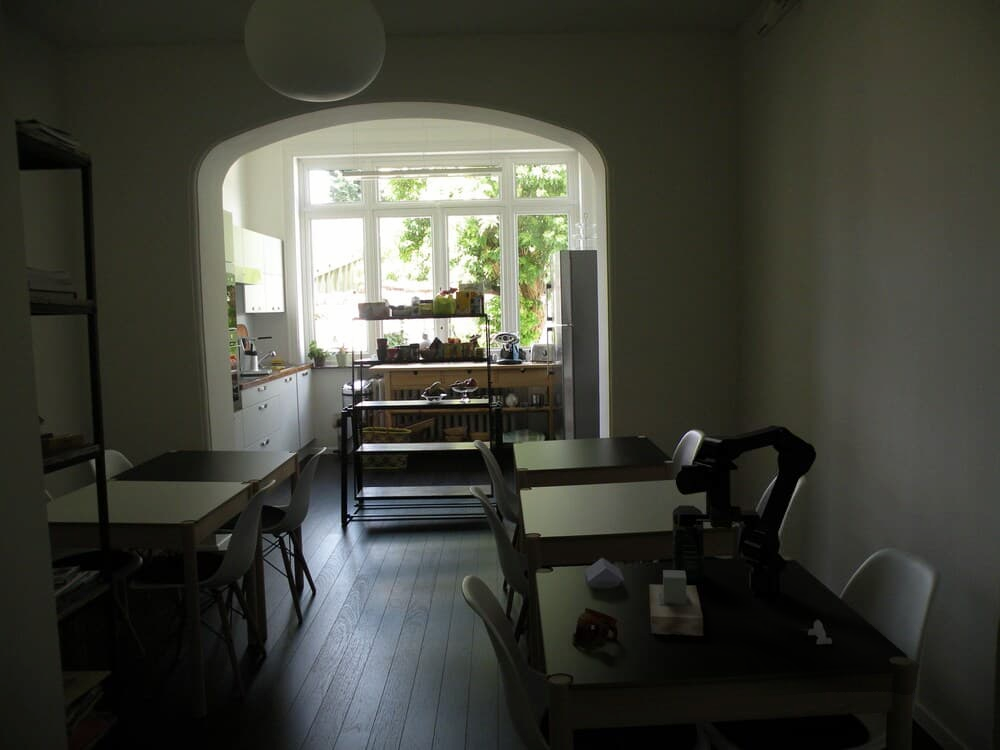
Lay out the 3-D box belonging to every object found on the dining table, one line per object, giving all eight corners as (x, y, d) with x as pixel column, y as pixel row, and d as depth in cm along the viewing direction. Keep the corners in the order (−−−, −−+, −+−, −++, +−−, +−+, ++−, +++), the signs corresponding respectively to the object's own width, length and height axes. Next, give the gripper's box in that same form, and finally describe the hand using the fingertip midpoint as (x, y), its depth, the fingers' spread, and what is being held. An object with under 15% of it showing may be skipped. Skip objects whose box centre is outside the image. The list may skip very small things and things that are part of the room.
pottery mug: (563, 640, 174) (575, 603, 176) (601, 655, 176) (613, 618, 178) (582, 648, 163) (595, 608, 165) (623, 664, 164) (635, 624, 166)
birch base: (695, 601, 192) (695, 584, 192) (703, 635, 173) (703, 616, 172) (649, 600, 194) (649, 583, 194) (651, 633, 175) (651, 615, 174)
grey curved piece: (842, 647, 166) (843, 626, 165) (811, 648, 166) (811, 628, 165) (814, 619, 181) (814, 600, 180) (784, 620, 181) (784, 601, 180)
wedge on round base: (624, 593, 199) (617, 576, 212) (624, 567, 199) (617, 551, 212) (588, 594, 200) (584, 577, 213) (587, 568, 199) (583, 552, 212)
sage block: (685, 595, 185) (684, 570, 185) (686, 603, 180) (686, 577, 180) (663, 595, 186) (663, 570, 185) (664, 603, 181) (663, 577, 180)
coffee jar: (706, 583, 205) (705, 512, 203) (674, 582, 206) (673, 512, 204) (701, 570, 214) (700, 502, 213) (671, 570, 215) (670, 502, 214)
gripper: (680, 497, 183) (680, 563, 184) (764, 498, 180) (764, 565, 181) (677, 486, 194) (678, 549, 195) (756, 486, 191) (757, 550, 192)
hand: (718, 553), depth 190 cm, fingers open, 9 cm apart
